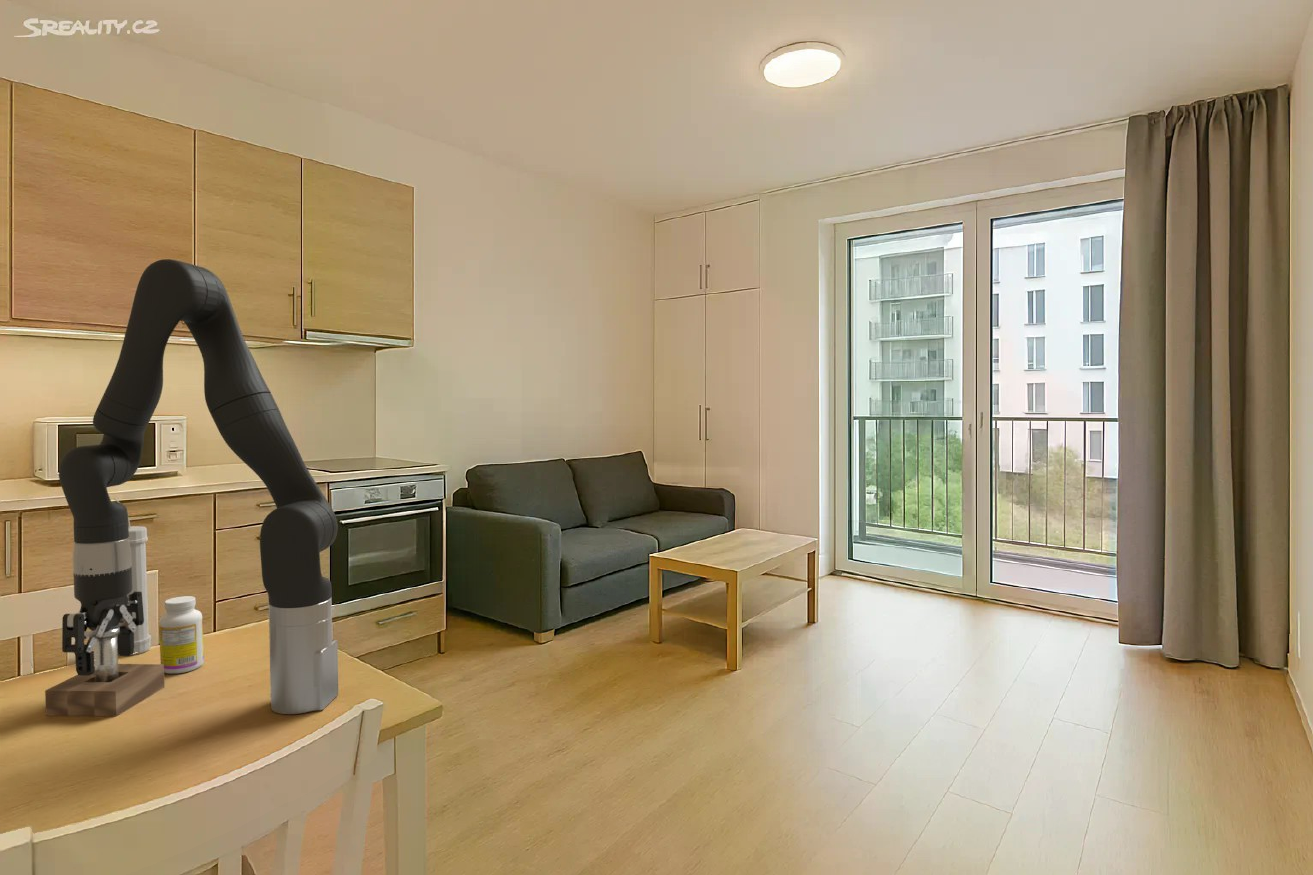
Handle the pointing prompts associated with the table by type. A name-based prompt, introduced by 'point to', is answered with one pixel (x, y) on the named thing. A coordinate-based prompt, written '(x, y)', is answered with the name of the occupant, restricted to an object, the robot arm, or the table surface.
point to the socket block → (105, 692)
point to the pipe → (139, 583)
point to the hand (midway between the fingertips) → (106, 664)
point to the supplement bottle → (181, 636)
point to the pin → (107, 656)
